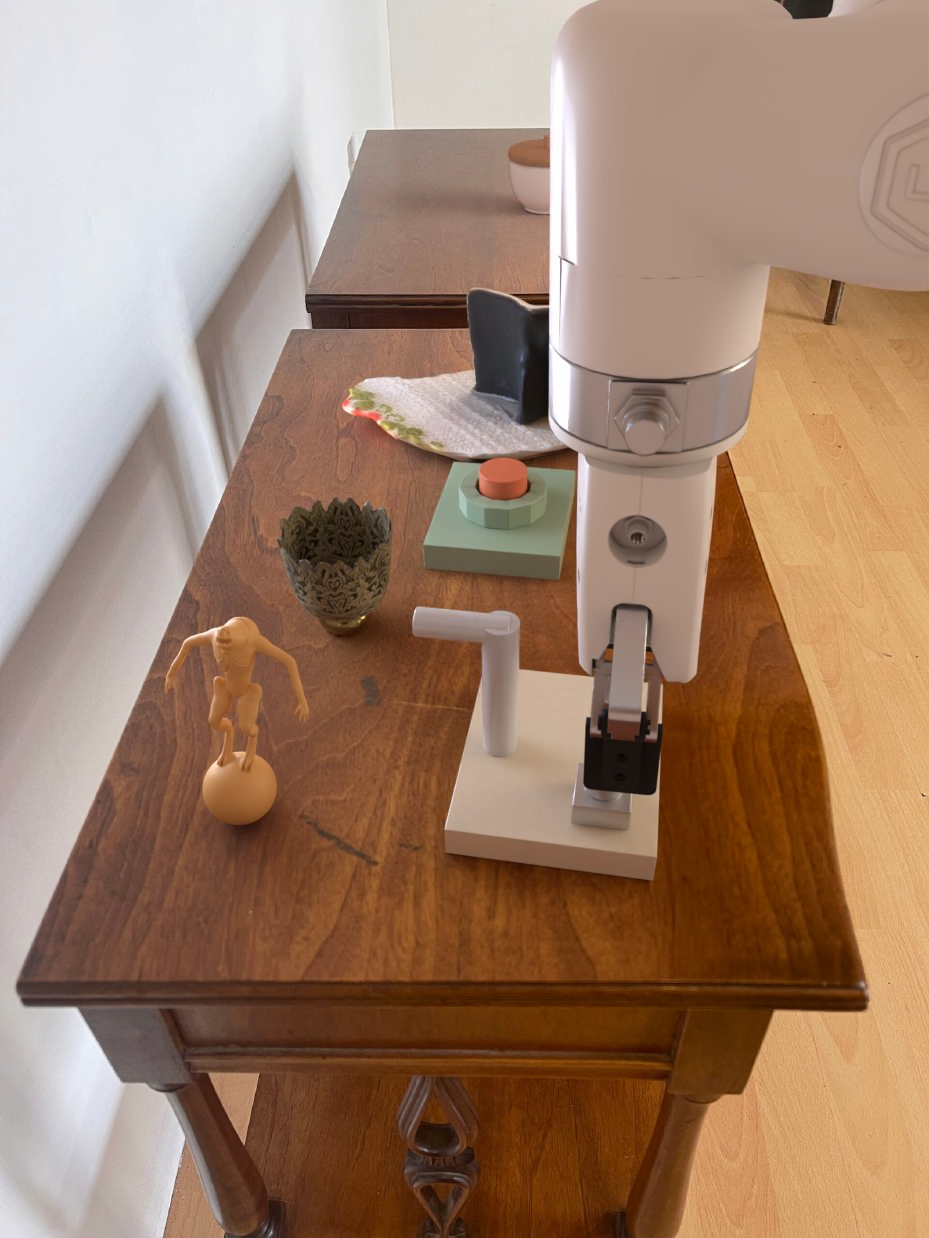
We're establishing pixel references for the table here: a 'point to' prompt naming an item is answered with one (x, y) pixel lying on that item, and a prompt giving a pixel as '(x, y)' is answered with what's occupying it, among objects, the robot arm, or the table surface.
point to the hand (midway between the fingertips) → (625, 711)
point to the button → (503, 479)
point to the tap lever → (600, 799)
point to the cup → (338, 561)
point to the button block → (501, 525)
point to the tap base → (531, 761)
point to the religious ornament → (476, 390)
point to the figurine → (239, 779)
